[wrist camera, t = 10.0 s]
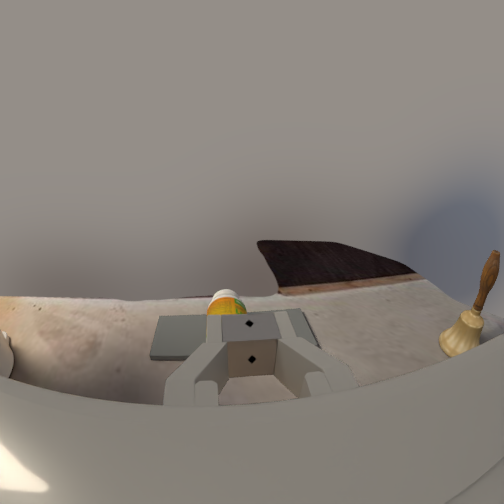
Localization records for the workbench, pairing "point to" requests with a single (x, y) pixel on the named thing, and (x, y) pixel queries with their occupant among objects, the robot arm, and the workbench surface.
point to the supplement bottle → (225, 304)
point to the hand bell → (471, 314)
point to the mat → (203, 334)
